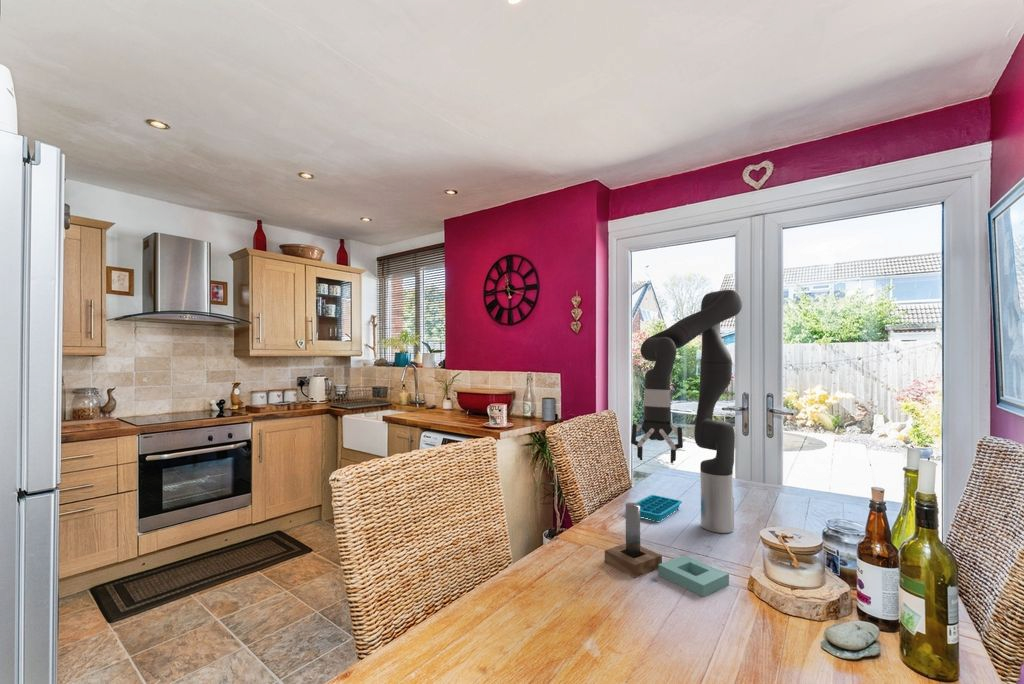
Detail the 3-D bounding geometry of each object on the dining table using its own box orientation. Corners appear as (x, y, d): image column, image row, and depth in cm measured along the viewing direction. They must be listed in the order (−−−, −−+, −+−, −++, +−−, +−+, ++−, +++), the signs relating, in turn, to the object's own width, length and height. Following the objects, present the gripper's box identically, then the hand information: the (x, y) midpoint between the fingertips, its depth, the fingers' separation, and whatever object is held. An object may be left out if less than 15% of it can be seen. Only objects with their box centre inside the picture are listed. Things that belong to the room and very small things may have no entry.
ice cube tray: (626, 516, 150) (626, 507, 150) (651, 502, 165) (651, 494, 165) (660, 525, 142) (660, 515, 142) (683, 509, 157) (683, 501, 157)
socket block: (631, 553, 120) (631, 541, 120) (662, 567, 112) (662, 555, 112) (604, 562, 114) (604, 550, 115) (635, 577, 106) (635, 565, 106)
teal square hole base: (683, 564, 113) (683, 554, 114) (729, 584, 103) (728, 573, 104) (658, 574, 108) (658, 564, 108) (703, 596, 98) (703, 585, 98)
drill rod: (632, 560, 116) (632, 501, 116) (643, 565, 113) (643, 505, 113) (622, 563, 114) (622, 504, 114) (633, 569, 111) (633, 508, 111)
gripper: (682, 406, 132) (681, 461, 131) (632, 403, 137) (631, 457, 135) (683, 407, 125) (683, 466, 124) (631, 404, 129) (630, 460, 128)
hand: (656, 461), depth 129 cm, fingers open, 8 cm apart
